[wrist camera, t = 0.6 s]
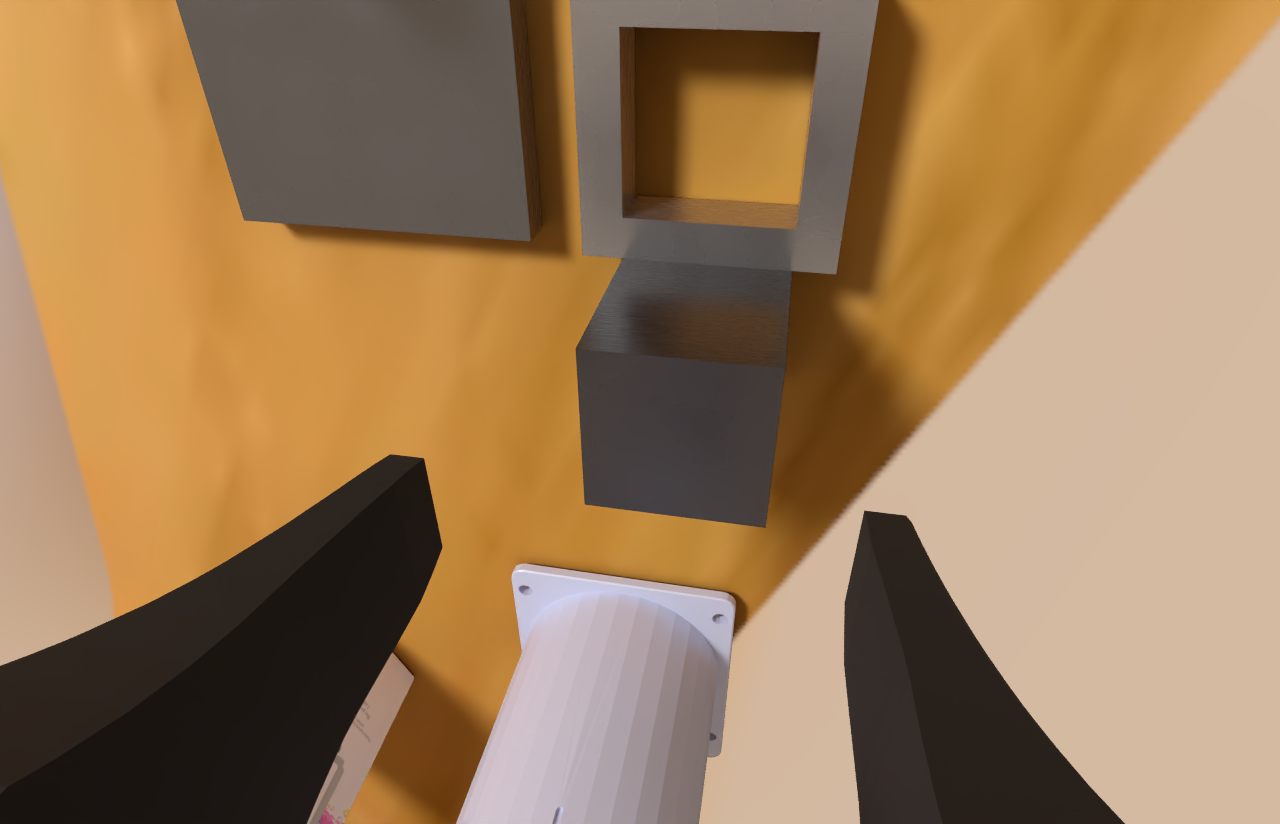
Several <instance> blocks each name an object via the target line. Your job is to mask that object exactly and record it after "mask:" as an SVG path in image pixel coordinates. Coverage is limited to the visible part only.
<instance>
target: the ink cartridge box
mask: <svg viewBox="0 0 1280 824" xmlns="http://www.w3.org/2000/svg"><path fill="white" fill-rule="evenodd" d="M413 680H414V676H413V675H412V674H411V673H410V672H409V671H408V669H407V668H406V667H405V666H404V665H403V664H402V663H401V661H400V660H399V659H398V658H397V657H396V656H395V655H394V653H393V652H392V654H391V655H390V657H389V659H388V661H387V662H386V664H385V666H384V668H383V669H382V671H381V673H380V675H379V676H378V678H377V680H376V682H375V683H374V685H373V687H372V689H371V690H370V692H369V694H368V696H367V697H366V699H365V701H364V703H363V704H362V706H361V708H360V710H359V711H358V713H357V715H356V717H355V719H354V721H353V723H352V724H351V726H350V728H349V730H348V732H347V734H346V736H345V738H344V740H343V742H342V744H341V746H340V749H339V751H338V753H337V755H336V758H335V760H334V762H333V764H332V767H331V769H330V771H329V773H328V776H327V778H326V780H325V782H324V785H323V787H322V789H321V791H320V794H319V796H318V798H317V801H316V803H315V806H314V808H313V810H312V813H311V815H310V818H309V820H308V822H307V824H343V823H344V821H345V819H346V817H347V815H348V813H349V811H350V809H351V807H352V805H353V803H354V801H355V799H356V796H357V794H358V792H359V790H360V788H361V786H362V784H363V782H364V780H365V778H366V776H367V774H368V772H369V770H370V768H371V766H372V764H373V762H374V760H375V758H376V756H377V754H378V752H379V750H380V748H381V746H382V743H383V741H384V739H385V737H386V735H387V733H388V731H389V729H390V727H391V725H392V723H393V721H394V719H395V717H396V715H397V713H398V711H399V709H400V707H401V704H402V702H403V700H404V698H405V697H406V695H407V693H408V691H409V688H410V686H411V684H412V682H413Z"/></svg>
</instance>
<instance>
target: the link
mask: <svg viewBox="0 0 1280 824" xmlns="http://www.w3.org/2000/svg"><path fill="white" fill-rule="evenodd" d="M878 4H879V0H570V6H571V27H572V47H573V68H574V89H575V109H576V130H577V151H578V171H579V192H580V213H581V233H582V254H583V255H587V256H600V257H613V258H623V259H622V261H621V263H620V265H619V267H618V269H617V271H616V273H615V275H614V276H613V278H612V280H611V282H610V284H609V286H608V288H607V290H606V292H605V294H604V296H603V297H602V299H601V301H600V303H599V305H598V307H597V309H596V311H595V313H594V315H593V317H592V319H591V320H590V322H589V324H588V326H587V328H586V330H585V332H584V334H583V336H582V338H581V340H580V341H579V343H578V345H577V347H576V361H577V378H578V396H579V413H580V430H581V447H582V464H583V481H584V499H585V505H593V506H601V507H609V508H616V509H624V510H632V511H640V512H648V513H655V514H663V515H671V516H679V517H686V518H694V519H702V520H710V521H717V522H725V523H733V524H741V525H748V526H756V527H764V528H765V527H766V519H767V511H768V503H769V495H770V487H771V479H772V471H773V463H774V455H775V447H776V439H777V431H778V423H779V415H780V407H781V399H782V391H783V383H784V375H785V366H786V352H787V337H788V322H789V307H790V293H791V278H792V271H798V272H811V273H824V274H836V272H837V266H838V259H839V253H840V246H841V240H842V234H843V227H844V221H845V214H846V208H847V202H848V195H849V189H850V183H851V176H852V170H853V163H854V157H855V151H856V144H857V138H858V131H859V125H860V119H861V112H862V106H863V100H864V93H865V87H866V80H867V74H868V68H869V61H870V55H871V48H872V42H873V36H874V29H875V23H876V16H877V10H878ZM635 27H649V28H686V29H723V30H760V31H797V32H819V37H818V46H817V54H816V62H815V71H814V79H813V88H812V96H811V104H810V113H809V121H808V130H807V138H806V146H805V155H804V163H803V171H802V180H801V188H800V197H799V205H784V204H768V203H752V202H736V201H720V200H704V199H688V198H672V197H656V196H640V195H636V161H635Z"/></svg>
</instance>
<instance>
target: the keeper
mask: <svg viewBox="0 0 1280 824" xmlns="http://www.w3.org/2000/svg"><path fill="white" fill-rule="evenodd" d="M176 2H177V5H178V9H179V12H180V15H181V18H182V21H183V25H184V28H185V31H186V34H187V38H188V41H189V44H190V47H191V50H192V54H193V57H194V60H195V63H196V67H197V70H198V73H199V76H200V80H201V83H202V86H203V89H204V92H205V96H206V99H207V102H208V105H209V109H210V112H211V115H212V118H213V121H214V125H215V128H216V131H217V134H218V138H219V141H220V144H221V147H222V150H223V154H224V157H225V160H226V163H227V167H228V170H229V173H230V176H231V180H232V183H233V186H234V189H235V192H236V196H237V199H238V202H239V205H240V209H241V212H242V215H243V218H244V220H246V221H260V222H274V223H287V224H301V225H314V226H328V227H341V228H355V229H369V230H382V231H396V232H409V233H423V234H436V235H450V236H463V237H477V238H491V239H504V240H518V241H531V240H532V239H533V238H534V237H535V235H536V234H537V233H538V232H539V230H540V229H541V228H542V217H541V204H540V192H539V179H538V166H537V154H536V141H535V128H534V116H533V103H532V90H531V77H530V65H529V52H528V39H527V27H526V14H525V1H524V0H176Z"/></svg>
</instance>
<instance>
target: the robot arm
mask: <svg viewBox="0 0 1280 824" xmlns="http://www.w3.org/2000/svg"><path fill="white" fill-rule="evenodd" d="M441 550H442V542H441V538H440V533H439V528H438V523H437V519H436V514H435V509H434V504H433V499H432V495H431V490H430V485H429V480H428V475H427V471H426V466H425V461H424V458H416V457H408V456H400V455H391V454H390V455H389V456H387V457H385V458H384V459H382V460H381V461H379V462H377V463H376V464H374V465H373V466H371V467H370V468H368V469H367V470H365V471H364V472H362V473H361V474H359V475H358V476H356V477H355V478H353V479H352V480H351V481H349V482H348V483H346V484H345V485H343V486H342V487H340V488H339V489H337V490H336V491H335V492H333V493H332V494H330V495H329V496H327V497H326V498H324V499H323V500H321V501H320V502H318V503H317V504H315V505H314V506H312V507H311V508H309V509H308V510H306V511H305V512H303V513H302V514H300V515H299V516H297V517H296V518H294V519H293V520H291V521H290V522H289V523H287V524H286V525H284V526H282V527H281V528H279V529H278V530H276V531H274V532H273V533H271V534H270V535H268V536H266V537H265V538H263V539H262V540H260V541H258V542H257V543H255V544H253V545H252V546H250V547H249V548H247V549H245V550H244V551H242V552H240V553H239V554H237V555H236V556H234V557H232V558H231V559H229V560H228V561H226V562H224V563H223V564H221V565H219V566H217V567H216V568H214V569H212V570H210V571H209V572H207V573H205V574H203V575H201V576H199V577H198V578H196V579H194V580H192V581H190V582H188V583H187V584H185V585H183V586H181V587H179V588H177V589H175V590H173V591H171V592H169V593H167V594H165V595H163V596H162V597H160V598H158V599H156V600H154V601H152V602H150V603H148V604H146V605H144V606H141V607H139V608H137V609H135V610H133V611H130V612H128V613H126V614H124V615H122V616H119V617H117V618H115V619H113V620H111V621H108V622H106V623H104V624H102V625H100V626H97V627H95V628H93V629H91V630H89V631H86V632H84V633H82V634H80V635H78V636H75V637H73V638H70V639H68V640H66V641H63V642H61V643H58V644H56V645H54V646H51V647H48V648H46V649H43V650H41V651H38V652H36V653H34V654H31V655H28V656H25V657H23V658H20V659H18V660H15V661H12V662H9V663H7V664H4V665H1V666H0V824H307V822H308V820H309V818H310V815H311V813H312V810H313V808H314V806H315V803H316V801H317V798H318V796H319V794H320V791H321V789H322V787H323V785H324V782H325V780H326V778H327V776H328V773H329V771H330V769H331V767H332V764H333V762H334V760H335V758H336V755H337V753H338V751H339V749H340V746H341V744H342V742H343V740H344V738H345V736H346V734H347V732H348V730H349V728H350V726H351V724H352V723H353V721H354V719H355V717H356V715H357V713H358V711H359V710H360V708H361V706H362V704H363V703H364V701H365V699H366V697H367V696H368V694H369V692H370V690H371V689H372V687H373V685H374V683H375V682H376V680H377V678H378V676H379V675H380V673H381V671H382V669H383V668H384V666H385V664H386V662H387V661H388V659H389V657H390V655H391V654H392V652H393V650H394V648H395V647H396V645H397V643H398V641H399V640H400V638H401V636H402V634H403V632H404V631H405V629H406V627H407V625H408V623H409V622H410V620H411V618H412V616H413V615H414V613H415V611H416V609H417V607H418V605H419V603H420V602H421V600H422V597H423V595H424V593H425V590H426V588H427V585H428V583H429V581H430V578H431V576H432V573H433V571H434V568H435V565H436V563H437V560H438V558H439V555H440V552H441ZM512 585H513V592H514V599H515V606H516V613H517V620H518V627H519V634H520V641H521V648H522V654H521V657H520V659H519V662H518V664H517V667H516V669H515V672H514V675H513V677H512V680H511V682H510V685H509V688H508V690H507V693H506V695H505V698H504V701H503V703H502V706H501V708H500V711H499V714H498V716H497V719H496V721H495V724H494V727H493V729H492V732H491V734H490V737H489V739H488V742H487V745H486V747H485V750H484V752H483V755H482V758H481V760H480V763H479V765H478V768H477V771H476V773H475V776H474V778H473V781H472V784H471V786H470V789H469V791H468V794H467V796H466V799H465V802H464V804H463V807H462V809H461V812H460V815H459V817H458V820H457V822H456V824H699V817H700V809H701V802H702V793H703V785H704V778H705V770H706V762H707V757H716V756H718V755H719V754H720V752H721V746H722V737H723V727H724V717H725V707H726V697H727V688H728V679H729V669H730V659H731V649H732V640H733V630H734V620H735V611H736V600H735V599H734V597H733V596H731V595H730V594H728V593H725V592H720V591H713V590H706V589H699V588H693V587H686V586H679V585H672V584H665V583H658V582H651V581H644V580H637V579H630V578H623V577H616V576H609V575H602V574H595V573H588V572H581V571H574V570H567V569H560V568H553V567H546V566H539V565H532V564H519V565H517V566H516V567H515V569H514V571H513V573H512ZM525 585H526V586H525ZM527 586H529V587H527ZM717 614H721V615H724V616H720V615H717ZM844 622H845V624H844V628H845V629H844V667H845V677H846V687H847V697H848V706H849V716H850V725H851V735H852V744H853V753H854V761H855V772H856V780H857V790H858V800H859V812H860V824H1125V823H1124V822H1123V821H1122V820H1121V819H1120V818H1119V817H1118V816H1117V815H1116V814H1115V813H1114V812H1113V811H1112V810H1111V809H1110V807H1109V806H1108V805H1107V804H1106V803H1105V802H1104V801H1103V800H1102V799H1101V798H1100V797H1099V796H1098V795H1097V794H1096V793H1095V792H1094V791H1093V789H1092V788H1091V787H1090V786H1089V785H1088V784H1087V783H1086V781H1085V780H1084V779H1083V778H1082V777H1081V776H1080V774H1079V773H1078V772H1077V771H1076V770H1075V769H1074V767H1073V766H1072V765H1071V764H1070V763H1069V762H1068V761H1067V759H1066V758H1065V757H1064V756H1063V755H1062V754H1061V752H1060V751H1059V750H1058V749H1057V748H1056V746H1055V745H1054V744H1053V743H1052V741H1051V740H1050V739H1049V738H1048V736H1047V735H1046V734H1045V733H1044V731H1043V730H1042V729H1041V728H1040V726H1039V725H1038V724H1037V723H1036V722H1035V720H1034V719H1033V718H1032V716H1031V715H1030V714H1029V713H1028V711H1027V710H1026V709H1025V707H1024V706H1023V705H1022V703H1021V702H1020V701H1019V699H1018V698H1017V696H1016V695H1015V694H1014V692H1013V691H1012V690H1011V689H1010V687H1009V686H1008V684H1007V683H1006V681H1005V680H1004V679H1003V677H1002V676H1001V674H1000V673H999V671H998V670H997V669H996V667H995V665H994V664H993V663H992V661H991V660H990V658H989V657H988V655H987V654H986V652H985V651H984V649H983V648H982V646H981V645H980V643H979V642H978V640H977V639H976V637H975V636H974V634H973V632H972V631H971V629H970V628H969V626H968V624H967V623H966V621H965V619H964V618H963V616H962V615H961V613H960V611H959V610H958V608H957V606H956V605H955V603H954V602H953V600H952V598H951V596H950V595H949V593H948V591H947V589H946V588H945V586H944V584H943V582H942V581H941V579H940V577H939V575H938V573H937V572H936V570H935V568H934V566H933V564H932V562H931V560H930V559H929V557H928V555H927V553H926V551H925V549H924V547H923V545H922V543H921V541H920V539H919V537H918V535H917V533H916V531H915V529H914V526H913V524H912V522H911V521H910V520H909V519H908V518H907V516H904V515H896V514H887V513H879V512H871V511H864V515H863V520H862V525H861V530H860V534H859V539H858V544H857V548H856V553H855V557H854V562H853V567H852V572H851V576H850V582H849V585H848V590H847V595H846V600H845V621H844Z"/></svg>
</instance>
